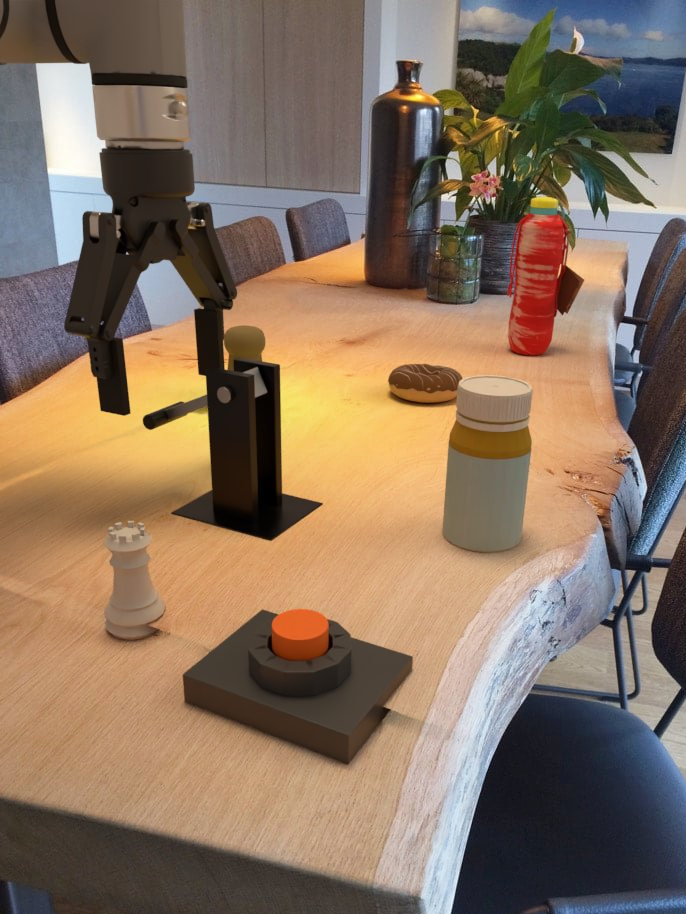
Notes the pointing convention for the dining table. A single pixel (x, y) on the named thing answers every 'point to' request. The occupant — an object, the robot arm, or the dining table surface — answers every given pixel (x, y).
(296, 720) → the control block
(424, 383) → the donut
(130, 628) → the rook chess piece
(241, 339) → the cork
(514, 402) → the bottle
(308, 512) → the bracket
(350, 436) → the dining table surface
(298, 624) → the button
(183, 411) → the lever
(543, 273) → the water bottle
